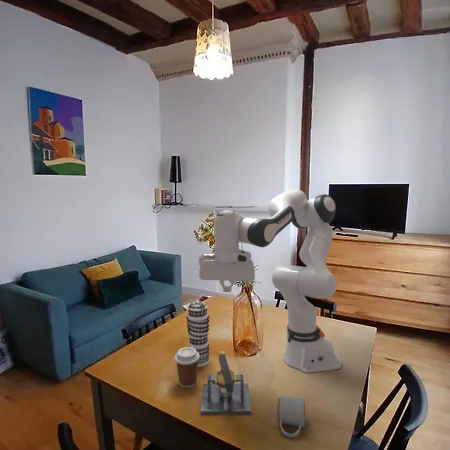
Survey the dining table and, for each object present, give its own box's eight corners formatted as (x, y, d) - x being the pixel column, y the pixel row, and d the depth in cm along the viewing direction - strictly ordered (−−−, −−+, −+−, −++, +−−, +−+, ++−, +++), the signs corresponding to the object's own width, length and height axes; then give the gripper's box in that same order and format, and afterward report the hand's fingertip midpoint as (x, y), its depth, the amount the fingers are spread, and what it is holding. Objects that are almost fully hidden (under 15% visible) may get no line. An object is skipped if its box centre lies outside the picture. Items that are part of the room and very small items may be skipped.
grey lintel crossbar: (209, 367, 119) (208, 352, 118) (234, 365, 120) (233, 350, 120) (215, 402, 100) (214, 385, 99) (244, 399, 102) (244, 381, 101)
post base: (248, 386, 118) (248, 365, 117) (250, 414, 104) (250, 390, 103) (203, 386, 118) (203, 365, 117) (200, 414, 104) (199, 390, 103)
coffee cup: (176, 375, 125) (175, 345, 124) (200, 374, 126) (199, 344, 124) (174, 390, 116) (173, 359, 115) (200, 389, 117) (199, 357, 115)
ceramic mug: (278, 411, 105) (278, 389, 104) (305, 415, 103) (305, 393, 102) (275, 436, 95) (275, 413, 94) (304, 442, 93) (305, 417, 92)
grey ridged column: (207, 368, 130) (205, 308, 126) (184, 366, 131) (182, 306, 128) (212, 356, 138) (211, 299, 135) (191, 354, 140) (190, 298, 137)
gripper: (196, 256, 117) (197, 293, 119) (254, 257, 114) (254, 295, 116) (200, 252, 123) (201, 287, 125) (255, 253, 120) (255, 289, 122)
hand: (227, 291), depth 120 cm, fingers closed
